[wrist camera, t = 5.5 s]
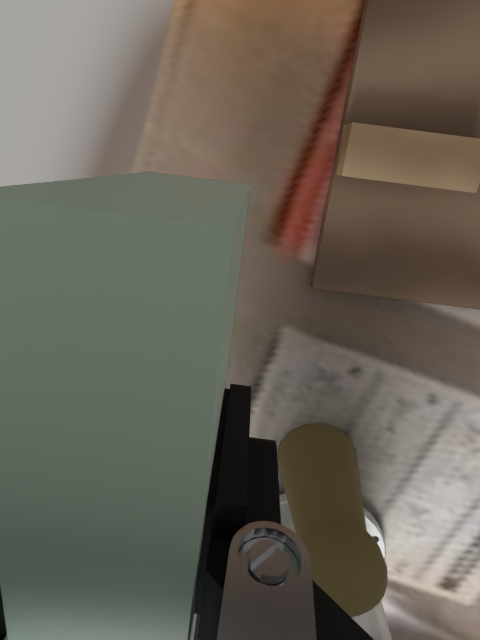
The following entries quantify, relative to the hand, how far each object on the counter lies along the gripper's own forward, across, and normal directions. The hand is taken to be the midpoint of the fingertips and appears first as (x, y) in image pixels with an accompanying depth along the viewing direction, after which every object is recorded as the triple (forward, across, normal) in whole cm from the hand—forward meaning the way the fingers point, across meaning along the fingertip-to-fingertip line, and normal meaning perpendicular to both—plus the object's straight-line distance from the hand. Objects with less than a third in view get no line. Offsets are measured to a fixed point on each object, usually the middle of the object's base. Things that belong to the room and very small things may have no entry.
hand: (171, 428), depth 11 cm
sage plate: (+2, 0, 0) cm, 2 cm away
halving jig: (+17, -15, -8) cm, 24 cm away
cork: (+17, -9, +14) cm, 24 cm away
